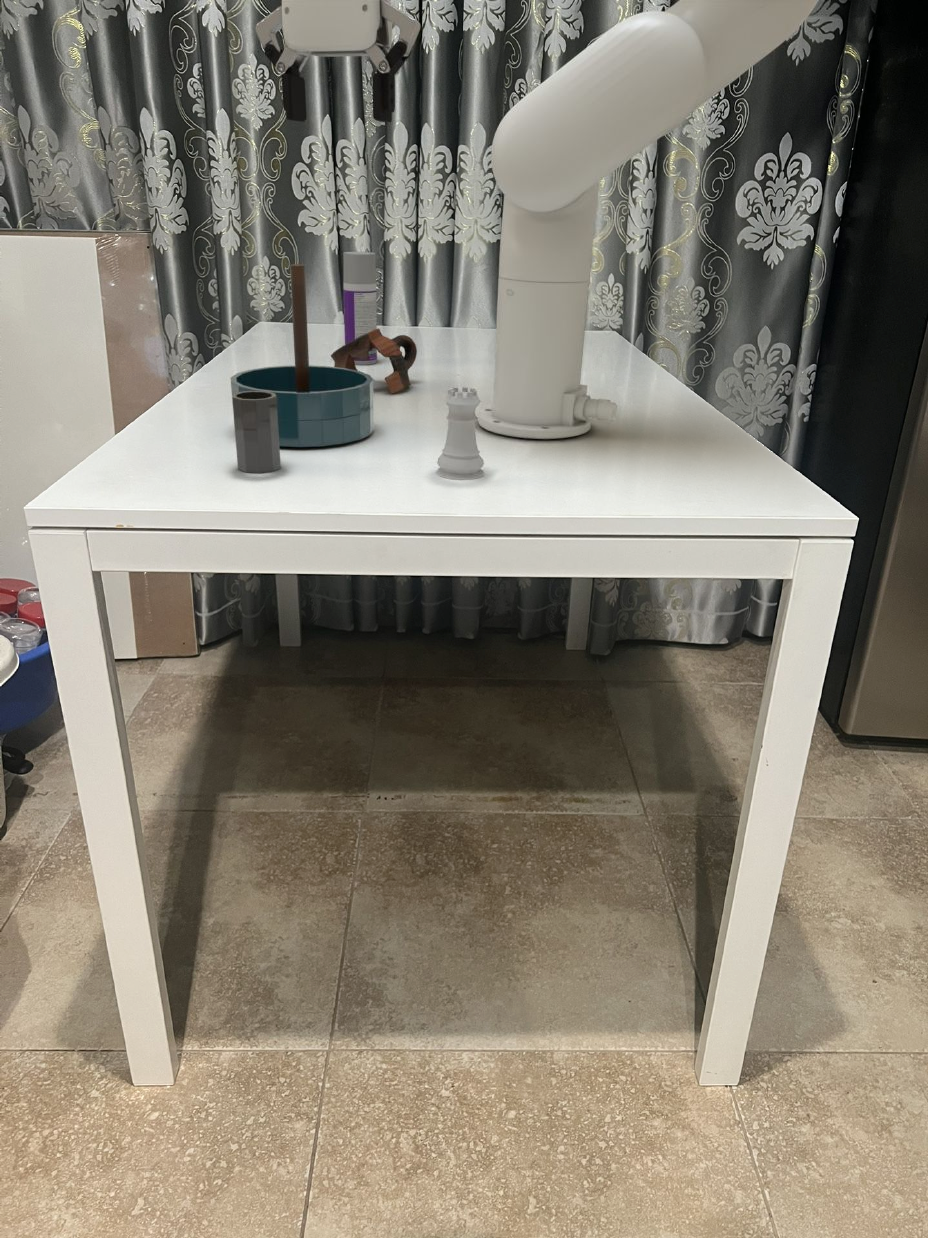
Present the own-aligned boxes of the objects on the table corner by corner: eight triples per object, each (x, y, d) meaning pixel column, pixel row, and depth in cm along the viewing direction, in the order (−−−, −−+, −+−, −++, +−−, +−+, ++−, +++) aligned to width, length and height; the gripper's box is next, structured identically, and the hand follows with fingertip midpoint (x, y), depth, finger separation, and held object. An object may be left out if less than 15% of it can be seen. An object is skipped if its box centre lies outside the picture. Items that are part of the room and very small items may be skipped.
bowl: (395, 429, 98) (395, 373, 96) (331, 462, 87) (328, 399, 84) (283, 414, 103) (280, 360, 100) (206, 443, 91) (201, 383, 89)
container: (342, 359, 135) (339, 251, 129) (372, 358, 137) (370, 251, 130) (349, 365, 131) (347, 253, 125) (380, 364, 133) (379, 254, 126)
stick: (314, 428, 95) (307, 264, 88) (307, 431, 94) (299, 265, 87) (302, 426, 95) (294, 263, 88) (295, 429, 94) (287, 264, 87)
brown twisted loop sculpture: (381, 402, 112) (348, 340, 110) (343, 422, 120) (311, 365, 118) (444, 365, 119) (414, 307, 117) (405, 386, 126) (375, 332, 124)
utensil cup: (289, 469, 84) (284, 393, 81) (265, 480, 81) (259, 401, 78) (254, 464, 85) (248, 388, 82) (229, 475, 82) (222, 397, 79)
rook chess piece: (447, 486, 81) (449, 396, 77) (428, 472, 84) (429, 385, 81) (492, 482, 82) (496, 393, 79) (472, 468, 86) (475, 383, 82)
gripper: (433, -83, 85) (431, 123, 93) (270, -73, 90) (281, 122, 98) (402, -106, 79) (403, 118, 86) (229, -94, 84) (244, 117, 91)
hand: (338, 120), depth 92 cm, fingers open, 9 cm apart
